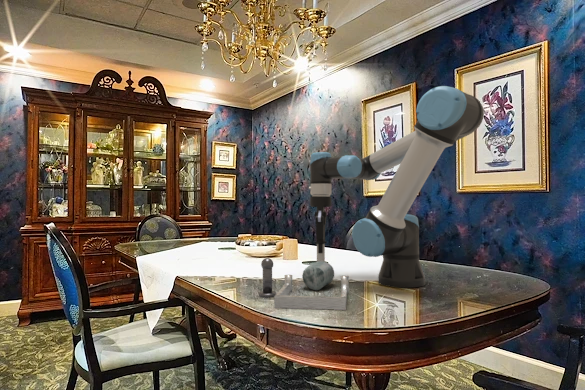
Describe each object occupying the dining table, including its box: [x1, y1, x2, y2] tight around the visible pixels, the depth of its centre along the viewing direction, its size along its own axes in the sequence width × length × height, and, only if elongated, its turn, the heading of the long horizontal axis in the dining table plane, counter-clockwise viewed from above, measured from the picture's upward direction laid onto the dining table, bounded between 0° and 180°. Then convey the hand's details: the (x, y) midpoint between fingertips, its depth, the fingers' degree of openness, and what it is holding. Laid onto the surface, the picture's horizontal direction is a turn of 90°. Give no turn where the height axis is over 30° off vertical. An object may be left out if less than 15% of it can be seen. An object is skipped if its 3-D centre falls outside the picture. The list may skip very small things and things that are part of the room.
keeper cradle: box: [273, 274, 350, 311], centre depth 112 cm, size 20×20×5 cm
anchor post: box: [258, 257, 277, 298], centre depth 117 cm, size 5×5×11 cm
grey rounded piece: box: [301, 261, 335, 291], centre depth 128 cm, size 14×10×10 cm
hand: (320, 261), depth 141 cm, fingers closed
